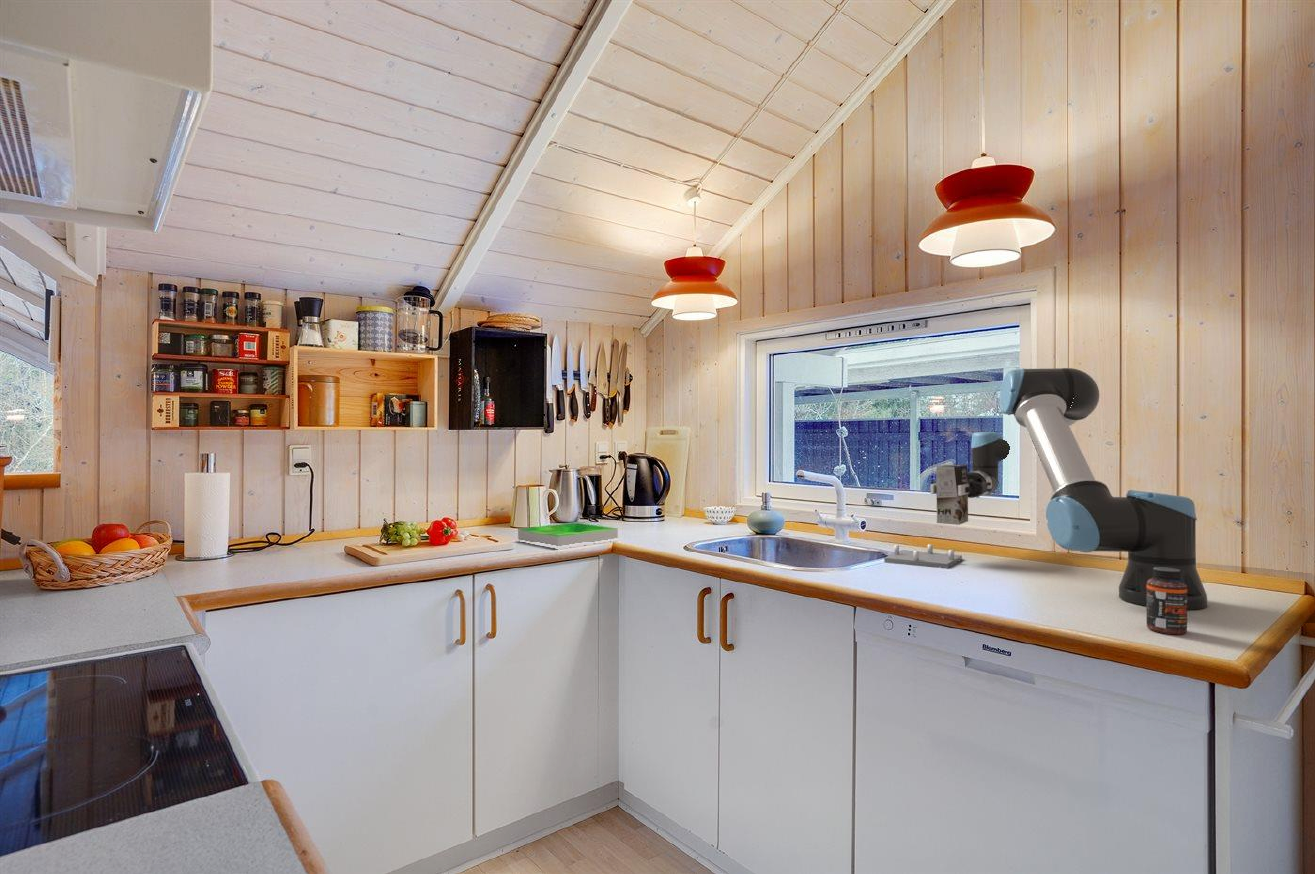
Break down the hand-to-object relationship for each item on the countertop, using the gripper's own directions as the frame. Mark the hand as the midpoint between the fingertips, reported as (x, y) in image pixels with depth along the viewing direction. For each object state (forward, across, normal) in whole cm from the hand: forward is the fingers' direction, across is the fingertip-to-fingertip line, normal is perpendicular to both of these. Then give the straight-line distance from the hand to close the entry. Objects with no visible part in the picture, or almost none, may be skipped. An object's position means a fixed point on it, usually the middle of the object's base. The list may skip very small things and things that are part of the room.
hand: (945, 489), depth 188 cm
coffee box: (-5, 0, -10) cm, 11 cm away
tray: (+38, +117, -22) cm, 125 cm away
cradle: (-2, +7, -21) cm, 22 cm away
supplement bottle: (+38, -53, -20) cm, 69 cm away
